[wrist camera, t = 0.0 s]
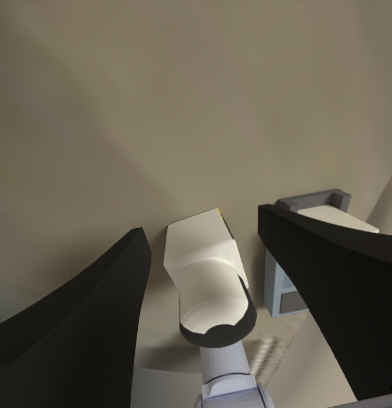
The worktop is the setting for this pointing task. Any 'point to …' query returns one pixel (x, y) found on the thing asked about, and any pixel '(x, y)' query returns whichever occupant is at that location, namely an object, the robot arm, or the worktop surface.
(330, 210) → the plug
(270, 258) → the port panel
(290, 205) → the bracket
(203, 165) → the worktop surface
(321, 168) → the worktop surface
